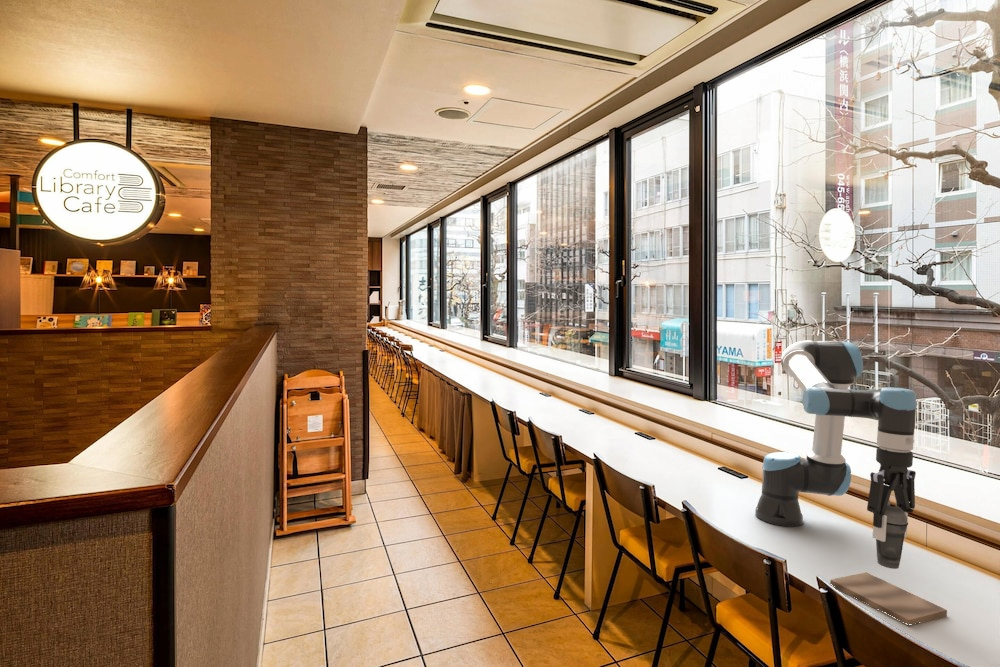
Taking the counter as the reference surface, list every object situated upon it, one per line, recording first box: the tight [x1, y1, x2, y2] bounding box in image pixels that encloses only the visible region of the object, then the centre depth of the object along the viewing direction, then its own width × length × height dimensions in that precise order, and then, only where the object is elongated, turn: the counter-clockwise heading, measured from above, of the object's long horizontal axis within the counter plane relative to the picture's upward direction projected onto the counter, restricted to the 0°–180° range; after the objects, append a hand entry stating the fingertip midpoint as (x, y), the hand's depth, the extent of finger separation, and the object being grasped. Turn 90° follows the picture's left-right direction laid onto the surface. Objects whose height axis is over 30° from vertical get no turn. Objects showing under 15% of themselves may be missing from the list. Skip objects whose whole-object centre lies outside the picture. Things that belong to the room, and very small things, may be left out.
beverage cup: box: [875, 499, 909, 570], centre depth 139 cm, size 7×7×20 cm
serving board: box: [829, 572, 948, 625], centre depth 139 cm, size 20×14×2 cm
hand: (889, 537), depth 139 cm, fingers closed on beverage cup, 7 cm apart
